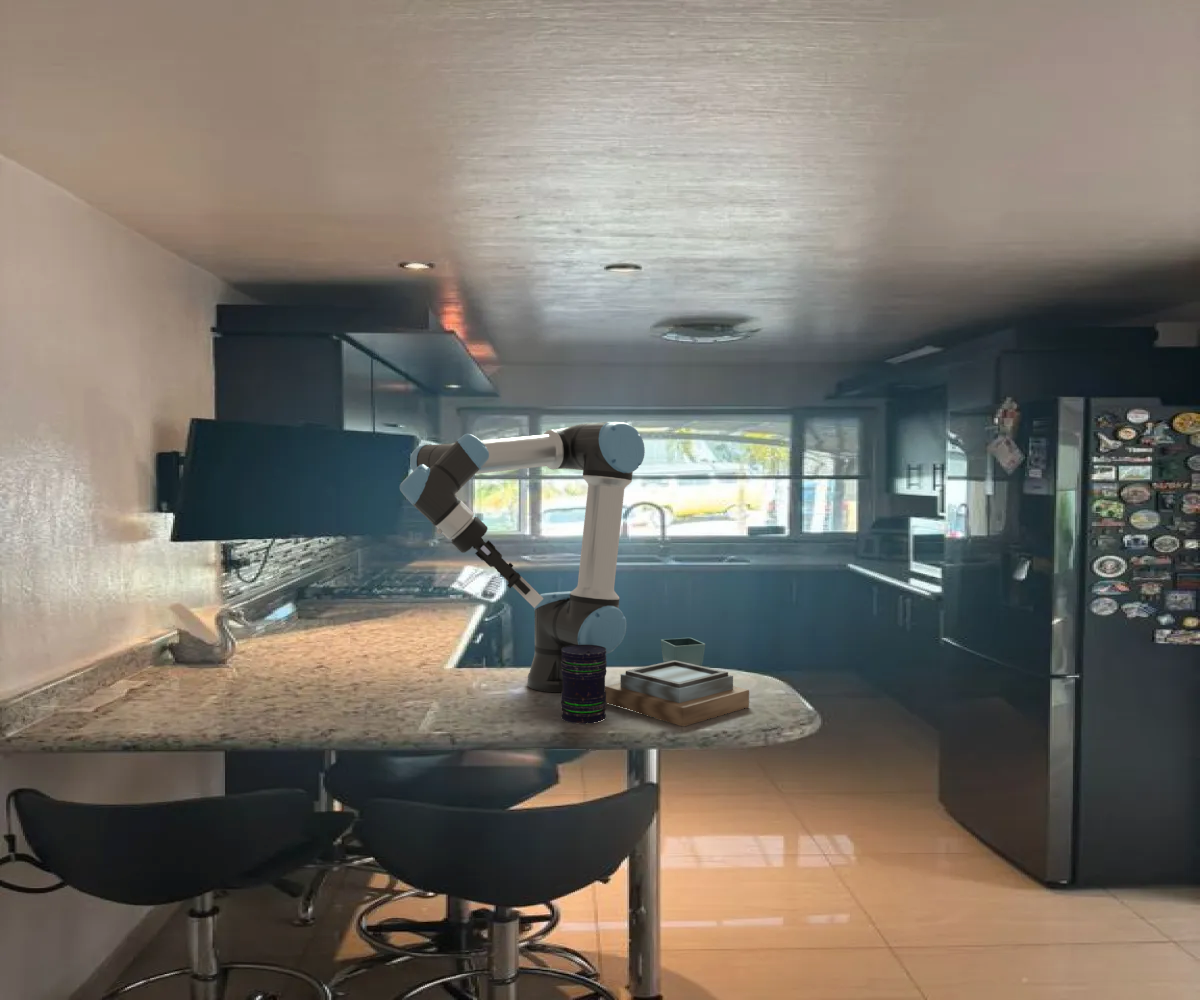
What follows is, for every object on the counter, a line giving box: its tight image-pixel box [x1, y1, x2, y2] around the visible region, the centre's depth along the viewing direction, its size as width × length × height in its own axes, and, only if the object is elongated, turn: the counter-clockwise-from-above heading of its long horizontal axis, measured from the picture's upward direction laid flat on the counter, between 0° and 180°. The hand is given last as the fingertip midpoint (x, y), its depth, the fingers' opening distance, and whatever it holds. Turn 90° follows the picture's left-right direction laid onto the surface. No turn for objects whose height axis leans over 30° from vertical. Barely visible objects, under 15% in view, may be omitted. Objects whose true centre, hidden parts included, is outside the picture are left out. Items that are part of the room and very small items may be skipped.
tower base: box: [605, 660, 750, 727], centre depth 211 cm, size 24×22×8 cm
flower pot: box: [660, 637, 706, 666], centre depth 239 cm, size 9×9×9 cm
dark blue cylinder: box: [560, 645, 608, 725], centre depth 201 cm, size 10×10×15 cm
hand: (533, 598), depth 197 cm, fingers open, 13 cm apart
